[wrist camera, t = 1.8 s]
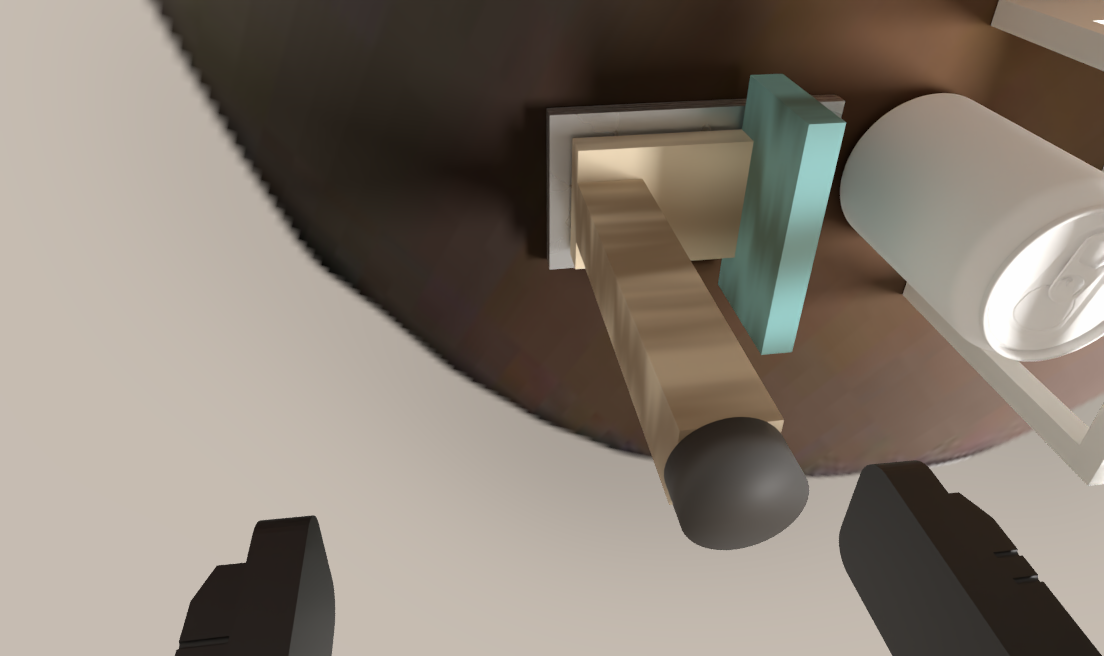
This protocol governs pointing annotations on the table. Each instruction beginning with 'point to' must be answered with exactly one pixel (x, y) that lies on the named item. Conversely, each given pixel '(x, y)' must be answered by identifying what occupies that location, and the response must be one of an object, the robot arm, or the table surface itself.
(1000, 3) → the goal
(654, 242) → the kicker rod
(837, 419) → the table surface
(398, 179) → the table surface
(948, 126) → the beverage can
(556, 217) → the white flat board
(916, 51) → the table surface
